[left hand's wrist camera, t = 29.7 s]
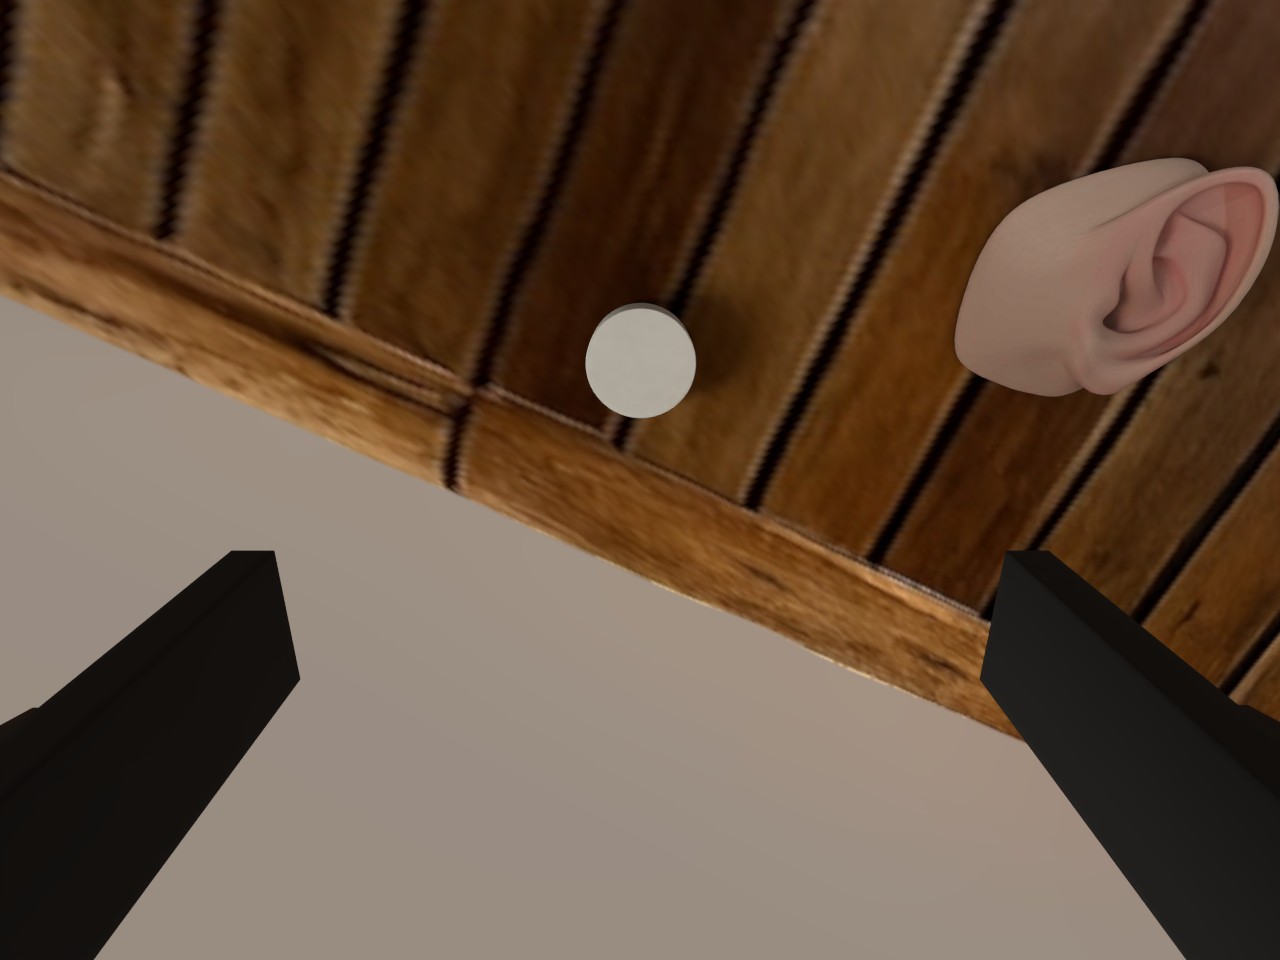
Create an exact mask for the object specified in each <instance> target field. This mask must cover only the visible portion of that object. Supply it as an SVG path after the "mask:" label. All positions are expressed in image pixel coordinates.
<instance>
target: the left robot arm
mask: <svg viewBox="0 0 1280 960" xmlns="http://www.w3.org/2000/svg"><path fill="white" fill-rule="evenodd" d="M299 680H300V675H299V670H298V666H297V661H296V656H295V651H294V646H293V641H292V636H291V631H290V626H289V621H288V616H287V611H286V606H285V601H284V596H283V591H282V586H281V582H280V577H279V572H278V567H277V562H276V557H275V552H274V551H231V552H229V553H228V554H227V555H226V556H224V557H223V558H222V559H221V560H219V561H218V562H217V563H216V564H215V565H213V566H212V567H211V568H210V569H208V570H207V571H206V572H205V573H204V574H202V575H201V576H200V577H199V578H197V579H196V580H195V581H194V582H192V583H191V584H190V585H189V586H188V587H186V588H185V589H184V590H183V591H181V592H180V593H179V594H178V595H176V596H175V597H174V598H173V599H172V600H170V601H169V602H168V603H167V604H165V605H164V606H163V607H162V608H160V609H159V610H158V611H157V612H156V613H154V614H153V615H152V616H151V617H149V618H148V619H147V620H146V621H145V622H143V623H142V624H141V625H140V626H138V627H137V628H136V629H135V630H133V631H132V632H131V633H130V634H129V635H127V636H126V637H125V638H124V639H122V640H121V641H120V642H119V643H117V644H116V645H115V646H114V647H113V648H111V649H110V650H109V651H108V652H106V653H105V654H104V655H103V656H102V657H100V658H99V659H98V660H97V661H95V662H94V663H93V664H92V665H90V666H89V667H88V668H87V669H86V670H84V671H83V672H82V673H81V674H79V675H78V676H77V677H76V678H74V679H73V680H72V681H71V682H70V683H68V684H67V685H66V686H65V687H63V688H62V689H61V690H60V691H58V692H57V693H56V694H55V695H54V696H52V697H51V698H50V699H49V700H47V701H46V702H45V703H44V704H42V705H41V706H40V707H39V708H31V709H29V710H28V711H26V712H24V713H22V714H20V715H18V716H16V717H15V718H13V719H11V720H9V721H7V722H5V723H4V724H2V725H0V960H94V959H95V957H96V956H97V954H98V953H99V952H100V950H101V949H102V948H103V946H104V945H105V944H106V942H107V941H108V940H109V938H110V937H111V936H112V934H113V933H114V931H115V930H116V929H117V927H118V926H119V925H120V923H121V922H122V921H123V919H124V918H125V917H126V915H127V914H128V912H129V911H130V910H131V908H132V907H133V906H134V904H135V903H136V902H137V900H138V899H139V898H140V896H141V895H142V893H143V892H144V891H145V889H146V888H147V887H148V885H149V884H150V883H151V881H152V880H153V879H154V877H155V876H156V874H157V873H158V872H159V870H160V869H161V868H162V866H163V865H164V864H165V862H166V861H167V859H168V858H169V857H170V855H171V854H172V853H173V851H174V850H175V849H176V847H177V846H178V845H179V843H180V842H181V840H182V839H183V838H184V836H185V835H186V834H187V832H188V831H189V830H190V828H191V827H192V826H193V824H194V823H195V822H196V820H197V819H198V817H199V816H200V815H201V813H202V812H203V811H204V809H205V808H206V807H207V805H208V804H209V803H210V801H211V800H212V798H213V797H214V796H215V794H216V793H217V792H218V790H219V789H220V788H221V786H222V785H223V784H224V782H225V781H226V779H227V778H228V777H229V775H230V774H231V773H232V771H233V770H234V769H235V767H236V766H237V765H238V763H239V762H240V760H241V759H242V758H243V756H244V755H245V754H246V752H247V751H248V750H249V748H250V747H251V746H252V744H253V743H254V741H255V740H256V739H257V737H258V736H259V735H260V733H261V732H262V731H263V729H264V728H265V727H266V725H267V724H268V722H269V721H270V720H271V718H272V717H273V716H274V714H275V713H276V712H277V710H278V709H279V708H280V706H281V705H282V703H283V702H284V701H285V699H286V698H287V697H288V695H289V694H290V693H291V691H292V690H293V688H294V687H295V686H296V684H297V683H298V682H299ZM980 680H981V682H982V683H983V684H984V686H985V687H986V689H987V690H988V691H989V693H990V694H991V695H992V697H993V698H994V699H995V701H996V702H997V703H998V705H999V706H1000V708H1001V709H1002V710H1003V712H1004V713H1005V714H1006V716H1007V717H1008V718H1009V720H1010V721H1011V722H1012V724H1013V725H1014V727H1015V728H1016V729H1017V731H1018V732H1019V733H1020V735H1021V736H1022V737H1023V739H1024V740H1025V741H1026V743H1027V744H1028V746H1029V747H1030V748H1031V750H1032V751H1033V752H1034V754H1035V755H1036V756H1037V758H1038V759H1039V760H1040V762H1041V763H1042V765H1043V766H1044V767H1045V769H1046V770H1047V771H1048V773H1049V774H1050V775H1051V777H1052V778H1053V779H1054V781H1055V782H1056V784H1057V785H1058V786H1059V788H1060V789H1061V790H1062V792H1063V793H1064V794H1065V796H1066V797H1067V798H1068V800H1069V801H1070V802H1071V804H1072V805H1073V807H1074V808H1075V809H1076V811H1077V812H1078V813H1079V815H1080V816H1081V817H1082V819H1083V820H1084V822H1085V823H1086V824H1087V826H1088V827H1089V828H1090V830H1091V831H1092V832H1093V834H1094V835H1095V836H1096V838H1097V839H1098V841H1099V842H1100V843H1101V844H1102V846H1103V847H1104V849H1105V850H1106V851H1107V853H1108V854H1109V855H1110V857H1111V858H1112V860H1113V861H1114V862H1115V864H1116V865H1117V866H1118V868H1119V869H1120V870H1121V872H1122V873H1123V874H1124V876H1125V877H1126V879H1127V880H1128V881H1129V883H1130V884H1131V885H1132V887H1133V888H1134V889H1135V891H1136V892H1137V893H1138V895H1139V896H1140V898H1141V899H1142V900H1143V902H1144V903H1145V904H1146V906H1147V907H1148V908H1149V910H1150V911H1151V912H1152V914H1153V915H1154V917H1155V918H1156V919H1157V921H1158V922H1159V923H1160V925H1161V926H1162V927H1163V929H1164V930H1165V931H1166V933H1167V934H1168V936H1169V937H1170V938H1171V939H1172V941H1173V942H1174V944H1175V945H1176V946H1177V948H1178V949H1179V950H1180V952H1181V953H1182V954H1183V956H1184V957H1185V958H1186V960H1280V722H1278V721H1277V720H1275V719H1273V718H1271V717H1269V716H1267V715H1265V714H1264V713H1262V712H1260V711H1258V710H1256V709H1254V708H1252V707H1251V706H1249V705H1238V704H1236V703H1235V702H1234V701H1233V700H1231V699H1230V698H1229V697H1228V696H1226V695H1225V694H1224V693H1223V692H1222V691H1220V690H1219V689H1218V688H1217V687H1215V686H1214V685H1213V684H1212V683H1210V682H1209V681H1208V680H1207V679H1206V678H1204V677H1203V676H1202V675H1201V674H1199V673H1198V672H1197V671H1196V670H1194V669H1193V668H1192V667H1191V666H1190V665H1188V664H1187V663H1186V662H1185V661H1183V660H1182V659H1181V658H1180V657H1179V656H1177V655H1176V654H1175V653H1174V652H1172V651H1171V650H1170V649H1169V648H1167V647H1166V646H1165V645H1164V644H1163V643H1161V642H1160V641H1159V640H1158V639H1156V638H1155V637H1154V636H1153V635H1151V634H1150V633H1149V632H1148V631H1147V630H1145V629H1144V628H1143V627H1142V626H1140V625H1139V624H1138V623H1137V622H1135V621H1134V620H1133V619H1132V618H1131V617H1129V616H1128V615H1127V614H1126V613H1124V612H1123V611H1122V610H1121V609H1120V608H1118V607H1117V606H1116V605H1115V604H1113V603H1112V602H1111V601H1110V600H1108V599H1107V598H1106V597H1105V596H1104V595H1102V594H1101V593H1100V592H1099V591H1097V590H1096V589H1095V588H1094V587H1092V586H1091V585H1090V584H1089V583H1088V582H1086V581H1085V580H1084V579H1083V578H1081V577H1080V576H1079V575H1078V574H1076V573H1075V572H1074V571H1073V570H1072V569H1070V568H1069V567H1068V566H1067V565H1065V564H1064V563H1063V562H1062V561H1061V560H1059V559H1058V558H1057V557H1056V556H1054V555H1053V554H1052V553H1051V552H1049V551H1006V552H1005V557H1004V562H1003V567H1002V572H1001V577H1000V582H999V586H998V591H997V596H996V601H995V606H994V611H993V616H992V621H991V626H990V631H989V636H988V641H987V646H986V651H985V656H984V661H983V665H982V670H981V675H980Z"/></svg>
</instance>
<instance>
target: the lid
mask: <svg viewBox="0 0 1280 960" xmlns="http://www.w3.org/2000/svg"><path fill="white" fill-rule="evenodd" d="M695 371H696V356H695V350H694V347H693V344H692V341H691V339H690V336H689V334H688V332H687V330H686V328H685V327H684V325H683V324H682V323H681V321H680V320H679V319H678V318H677V317H676V316H675V315H674V314H672V313H671V312H669V311H668V310H666V309H664V308H662V307H660V306H657V305H653V304H649V303H633V304H628V305H625V306H622V307H620V308H618V309H616V310H614V311H612V312H611V313H609V314H608V315H607V316H606V317H605V318H604V319H603V320H602V321H601V322H600V323H599V325H598V326H597V328H596V330H595V332H594V334H593V336H592V338H591V341H590V343H589V346H588V350H587V355H586V372H587V376H588V380H589V383H590V385H591V387H592V389H593V391H594V393H595V394H596V395H597V397H598V398H599V399H600V400H601V401H602V402H603V403H604V404H605V405H606V406H607V407H609V408H610V409H612V410H613V411H615V412H617V413H619V414H622V415H625V416H629V417H634V418H648V417H653V416H657V415H660V414H663V413H665V412H667V411H669V410H670V409H672V408H673V407H675V406H676V405H677V404H678V403H679V402H680V401H681V400H682V399H683V398H684V397H685V395H686V394H687V392H688V391H689V389H690V387H691V385H692V382H693V380H694V376H695Z"/></svg>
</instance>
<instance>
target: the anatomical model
mask: <svg viewBox="0 0 1280 960" xmlns="http://www.w3.org/2000/svg"><path fill="white" fill-rule="evenodd" d="M1278 211H1279V201H1278V191H1277V188H1276V184H1275V182H1274V180H1273V178H1272V177H1271V176H1270V174H1268V173H1267V172H1265V171H1264V170H1261V169H1259V168H1254V167H1233V168H1226V169H1222V170H1218V171H1214V172H1210V173H1209V172H1208V171H1207V170H1206V169H1205V168H1204V167H1203V166H1202V165H1201V164H1200V163H1198V162H1196V161H1193V160H1190V159H1185V158H1166V159H1156V160H1149V161H1144V162H1139V163H1134V164H1129V165H1125V166H1120V167H1116V168H1113V169H1109V170H1105V171H1101V172H1098V173H1095V174H1091V175H1088V176H1085V177H1081V178H1078V179H1075V180H1072V181H1070V182H1067V183H1064V184H1061V185H1058V186H1056V187H1054V188H1051V189H1049V190H1047V191H1044V192H1042V193H1040V194H1038V195H1036V196H1034V197H1032V198H1030V199H1028V200H1027V201H1025V202H1024V203H1022V204H1021V205H1019V206H1018V207H1017V208H1015V209H1014V210H1013V211H1012V212H1011V213H1009V214H1008V215H1007V216H1006V217H1005V218H1004V219H1003V221H1002V222H1001V223H1000V224H999V225H998V226H997V228H996V229H995V230H994V232H993V233H992V235H991V236H990V238H989V239H988V241H987V243H986V245H985V246H984V248H983V250H982V252H981V254H980V255H979V258H978V260H977V262H976V264H975V267H974V269H973V271H972V273H971V276H970V279H969V282H968V285H967V288H966V291H965V294H964V297H963V300H962V304H961V308H960V311H959V315H958V320H957V325H956V331H955V350H956V354H957V357H958V359H959V360H960V362H961V363H962V364H963V365H964V366H965V367H966V368H968V369H969V370H970V371H972V372H974V373H976V374H978V375H979V376H981V377H984V378H986V379H989V380H991V381H994V382H996V383H999V384H1001V385H1003V386H1006V387H1009V388H1012V389H1014V390H1018V391H1022V392H1027V393H1032V394H1037V395H1042V396H1062V395H1066V394H1069V393H1072V392H1075V391H1077V390H1079V389H1081V388H1083V387H1084V388H1085V389H1087V390H1088V391H1090V392H1093V393H1096V394H1101V395H1108V394H1113V393H1116V392H1119V391H1121V390H1123V389H1125V388H1127V387H1128V386H1130V385H1132V384H1133V383H1135V382H1137V381H1138V380H1140V379H1141V378H1143V377H1145V376H1146V375H1148V374H1149V373H1151V372H1153V371H1154V370H1156V369H1158V368H1159V367H1161V366H1163V365H1164V364H1166V363H1168V362H1169V361H1171V360H1173V359H1174V358H1176V357H1177V356H1179V355H1181V354H1182V353H1184V352H1185V351H1187V350H1188V349H1190V348H1191V347H1193V346H1194V345H1196V344H1197V343H1198V342H1200V341H1201V340H1203V339H1204V338H1205V337H1207V336H1208V335H1209V334H1210V333H1212V332H1213V331H1214V330H1215V329H1216V328H1217V327H1219V326H1220V325H1221V324H1222V323H1223V322H1224V321H1225V320H1226V319H1227V318H1228V316H1229V315H1230V314H1231V313H1232V312H1233V311H1234V310H1235V309H1236V308H1237V306H1238V305H1239V304H1240V302H1241V301H1242V299H1243V298H1244V297H1245V295H1246V294H1247V292H1248V291H1249V290H1250V288H1251V287H1252V285H1253V283H1254V282H1255V280H1256V278H1257V276H1258V275H1259V273H1260V271H1261V269H1262V267H1263V265H1264V263H1265V261H1266V259H1267V257H1268V254H1269V252H1270V249H1271V246H1272V243H1273V240H1274V237H1275V231H1276V226H1277V220H1278Z"/></svg>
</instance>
